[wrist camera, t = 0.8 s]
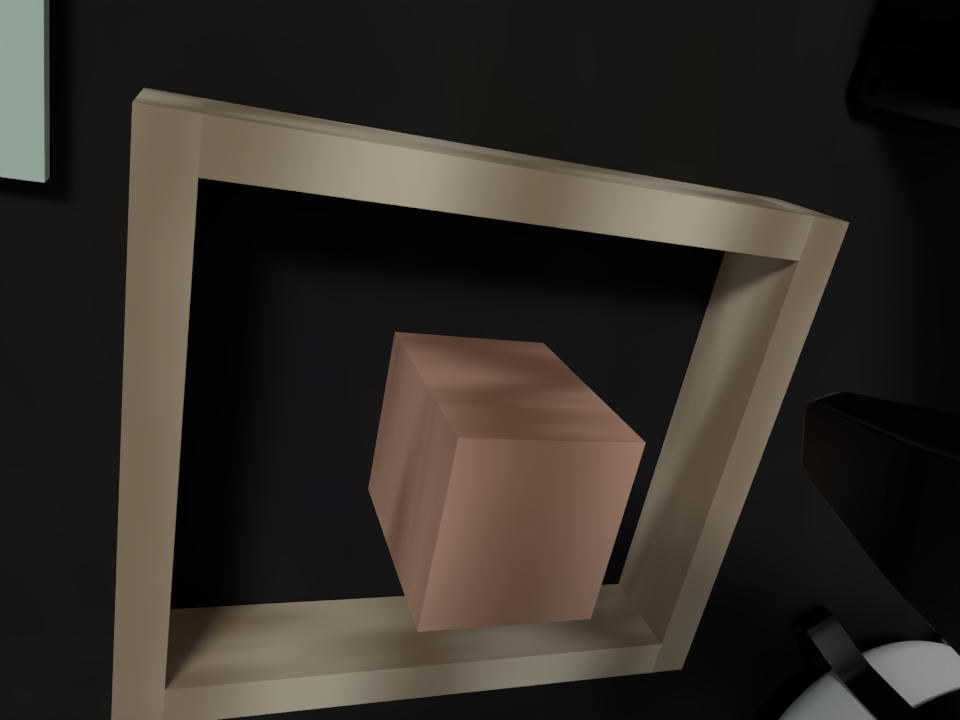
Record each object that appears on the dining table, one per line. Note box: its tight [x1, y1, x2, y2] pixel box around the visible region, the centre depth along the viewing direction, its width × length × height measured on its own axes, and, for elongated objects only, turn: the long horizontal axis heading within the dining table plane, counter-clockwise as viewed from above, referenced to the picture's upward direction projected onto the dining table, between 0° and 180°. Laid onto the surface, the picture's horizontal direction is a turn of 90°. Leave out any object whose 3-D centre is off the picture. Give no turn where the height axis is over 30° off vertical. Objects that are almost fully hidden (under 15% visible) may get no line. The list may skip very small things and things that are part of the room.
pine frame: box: [111, 88, 849, 720], centre depth 21 cm, size 17×15×3 cm
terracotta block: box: [369, 332, 645, 632], centre depth 20 cm, size 4×5×6 cm
